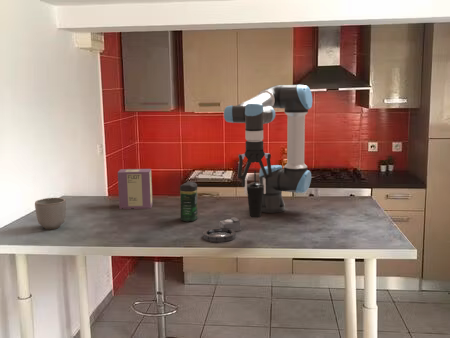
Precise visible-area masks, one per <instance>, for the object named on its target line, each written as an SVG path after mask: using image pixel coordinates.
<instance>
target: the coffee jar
mask: <svg viewBox="0 0 450 338" xmlns="http://www.w3.org/2000/svg"><path fill="white" fill-rule="evenodd" d="M179 192H180V221H183V222H194V221H196V220H197V219H198V218H199V216H198V215H199V213H198V212H199V211H198V184H197V183H196V182H195V181H186V182H185V183H183V184H180V187H179Z"/></svg>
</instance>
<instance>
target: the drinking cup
mask: <svg viewBox="0 0 450 338" xmlns="http://www.w3.org/2000/svg"><path fill="white" fill-rule="evenodd" d="M253 173H254V175H253V176H254V177H253V179H254V182H250V183H247V201H248V211H249V212H248V213H249V217H250V218H254V219H256V218H261V217H262V212H261V209H262V198H263V187H264V185H263V184H261V183H259V182H258V181H257V171H256V170H254V171H253Z"/></svg>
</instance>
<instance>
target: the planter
mask: <svg viewBox="0 0 450 338" xmlns="http://www.w3.org/2000/svg"><path fill="white" fill-rule="evenodd" d="M34 209H35V214H36V220H37V223H38V224H39V225H40V226H41V227H43V229H44V230H49V231H50V230H56V229H60V228H61V225H63V224H64V223H65V221H66V215H67V201H66V198H62V197H47V198H41V199H37V200H35V201H34Z"/></svg>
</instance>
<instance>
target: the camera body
mask: <svg viewBox="0 0 450 338" xmlns="http://www.w3.org/2000/svg"><path fill="white" fill-rule="evenodd" d="M218 223H219V224H218V225H219V226H218V228H229V229H232V230H234V231H235V232H238V231H241V221H240V219H239V218H237V217H234V216H233V217H230V219H229V218H228V219H224V220H219V222H218Z"/></svg>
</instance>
